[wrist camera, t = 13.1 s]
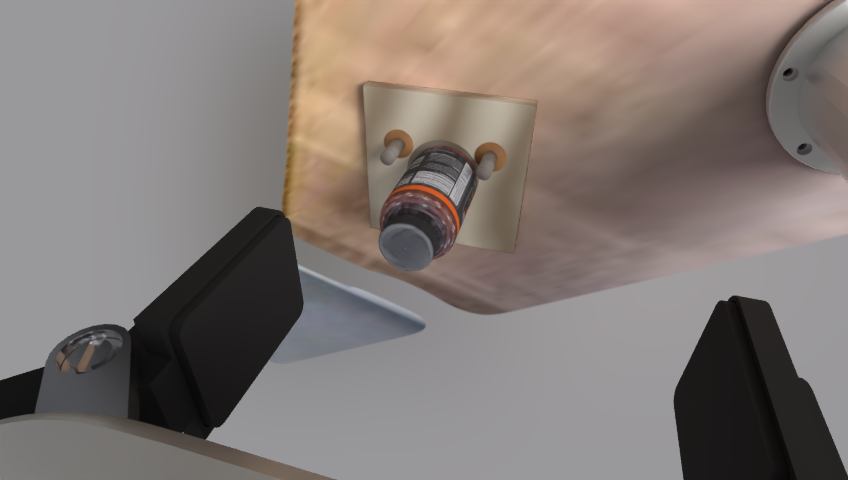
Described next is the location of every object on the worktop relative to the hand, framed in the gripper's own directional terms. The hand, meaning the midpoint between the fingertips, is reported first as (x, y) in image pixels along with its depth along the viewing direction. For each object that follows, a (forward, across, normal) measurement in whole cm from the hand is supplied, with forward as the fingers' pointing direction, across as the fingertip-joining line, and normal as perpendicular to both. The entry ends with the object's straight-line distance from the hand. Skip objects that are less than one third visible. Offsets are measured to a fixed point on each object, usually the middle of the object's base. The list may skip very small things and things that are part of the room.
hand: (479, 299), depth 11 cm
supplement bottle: (+29, +8, +13) cm, 33 cm away
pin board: (+30, +8, +13) cm, 34 cm away
